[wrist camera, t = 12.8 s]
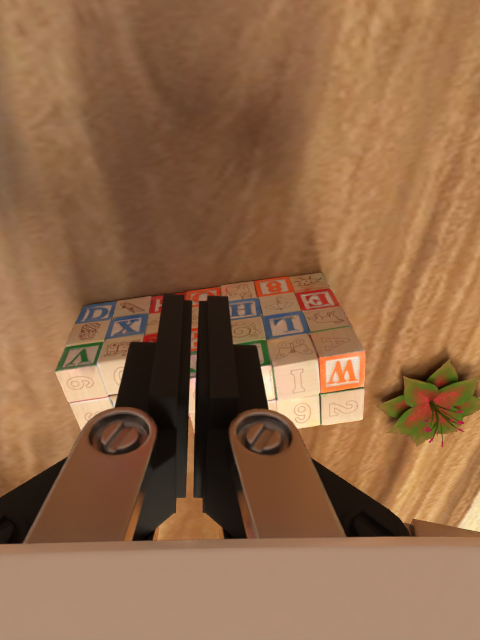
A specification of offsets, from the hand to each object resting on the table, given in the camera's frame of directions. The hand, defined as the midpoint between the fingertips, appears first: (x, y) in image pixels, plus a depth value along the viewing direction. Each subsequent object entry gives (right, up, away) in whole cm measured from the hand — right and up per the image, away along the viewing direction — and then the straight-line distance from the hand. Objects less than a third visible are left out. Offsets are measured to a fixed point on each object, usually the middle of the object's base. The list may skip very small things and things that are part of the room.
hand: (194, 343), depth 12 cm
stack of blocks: (-2, +1, +29) cm, 29 cm away
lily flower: (+22, -8, +36) cm, 43 cm away
